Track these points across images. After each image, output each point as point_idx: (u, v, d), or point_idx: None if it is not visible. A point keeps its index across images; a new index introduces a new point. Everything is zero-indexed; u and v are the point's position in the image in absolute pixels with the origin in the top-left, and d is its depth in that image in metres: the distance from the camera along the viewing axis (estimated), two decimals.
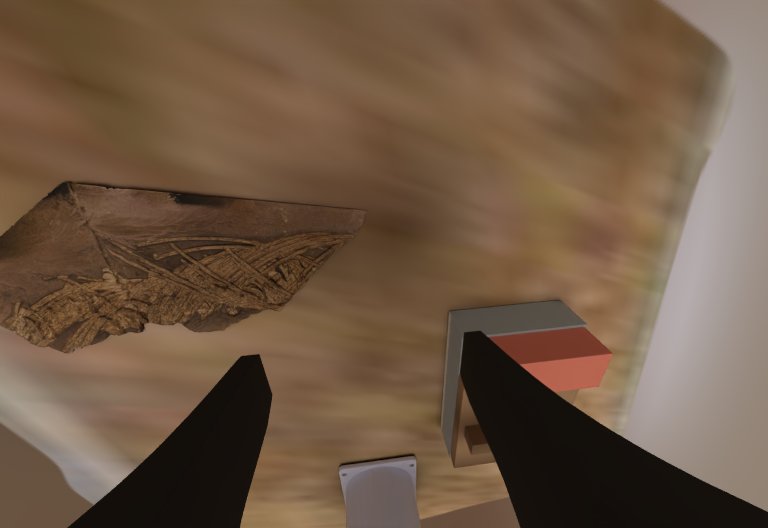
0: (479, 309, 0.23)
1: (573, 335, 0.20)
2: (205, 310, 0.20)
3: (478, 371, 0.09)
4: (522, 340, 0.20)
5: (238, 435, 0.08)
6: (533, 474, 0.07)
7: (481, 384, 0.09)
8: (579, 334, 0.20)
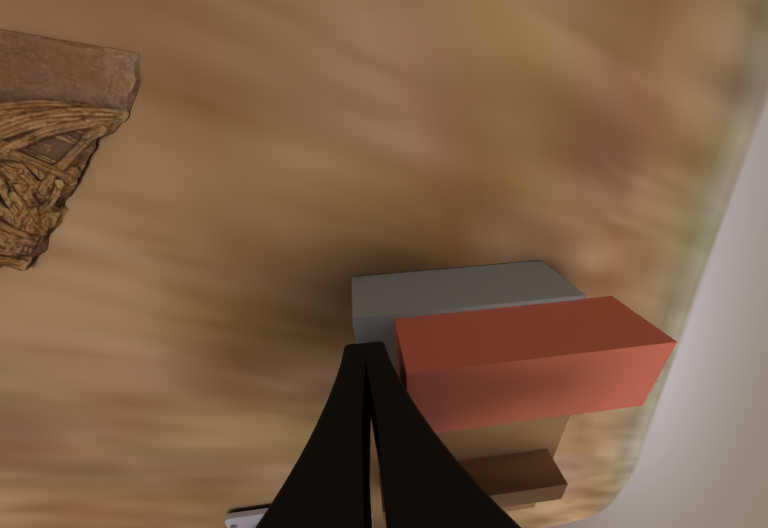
0: (403, 274, 0.13)
1: (594, 310, 0.11)
2: None
3: (368, 384, 0.09)
4: (500, 319, 0.11)
5: (366, 418, 0.08)
6: None
7: (369, 397, 0.09)
8: (605, 308, 0.11)
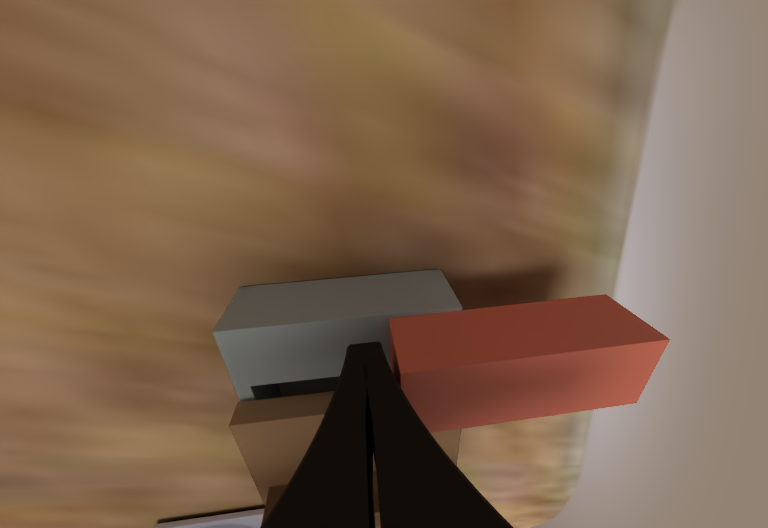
0: (293, 283, 0.13)
1: (588, 308, 0.11)
2: None
3: None
4: (494, 318, 0.11)
5: (369, 418, 0.08)
6: None
7: None
8: (599, 306, 0.11)
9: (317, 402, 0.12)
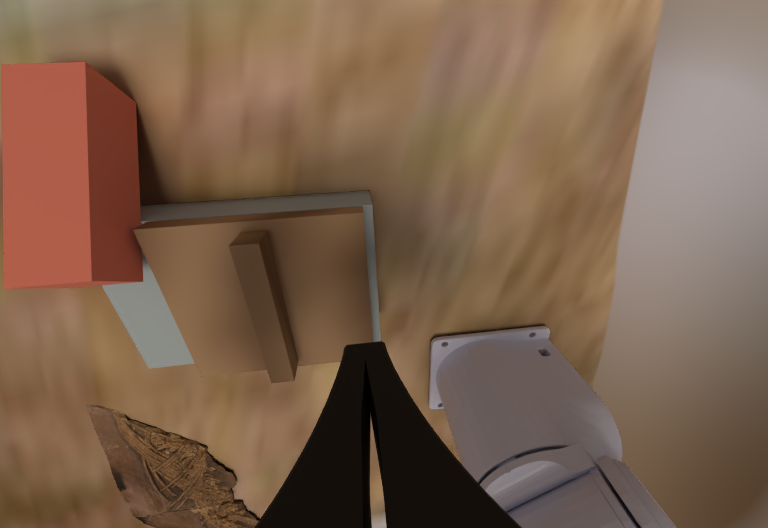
0: None
1: None
2: (212, 481, 0.28)
3: (368, 384, 0.09)
4: None
5: (366, 419, 0.08)
6: (384, 496, 0.07)
7: (370, 397, 0.09)
8: None
9: None
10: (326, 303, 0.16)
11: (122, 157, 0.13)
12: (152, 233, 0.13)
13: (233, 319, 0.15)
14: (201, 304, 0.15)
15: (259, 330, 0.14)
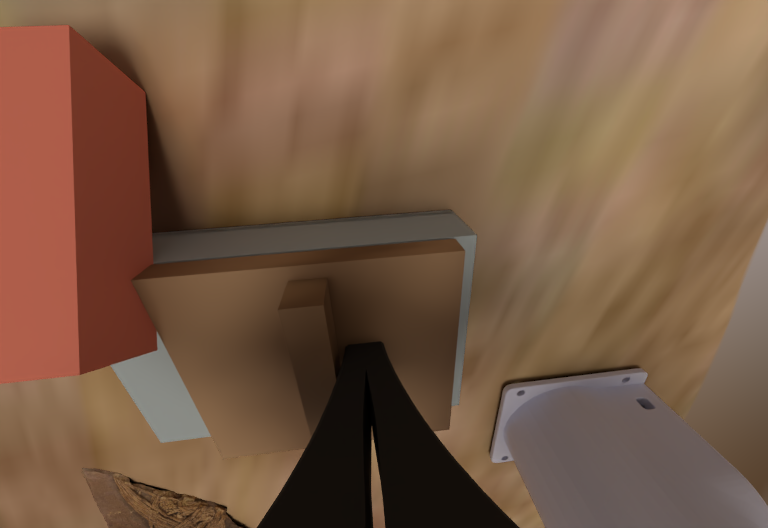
0: None
1: None
2: None
3: (367, 384, 0.09)
4: None
5: (367, 419, 0.08)
6: None
7: (369, 398, 0.09)
8: None
9: None
10: (396, 368, 0.11)
11: (127, 171, 0.09)
12: (160, 284, 0.09)
13: (270, 391, 0.11)
14: (226, 374, 0.11)
15: (311, 417, 0.10)
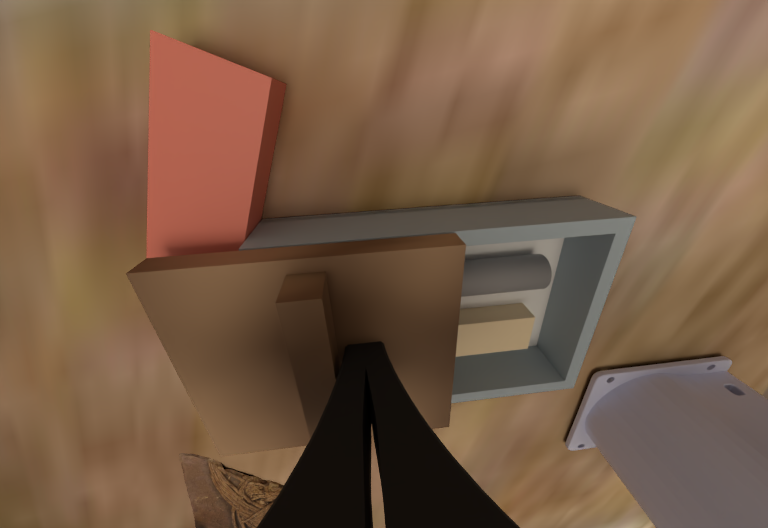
0: None
1: None
2: None
3: (367, 384, 0.09)
4: None
5: (367, 418, 0.08)
6: None
7: (369, 398, 0.09)
8: None
9: None
10: (396, 364, 0.11)
11: (266, 174, 0.11)
12: (155, 278, 0.09)
13: (267, 387, 0.11)
14: (223, 370, 0.10)
15: (309, 413, 0.10)
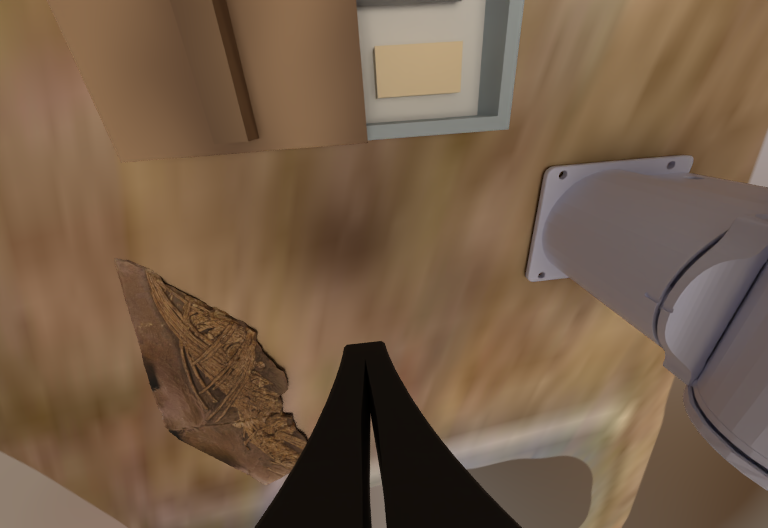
0: None
1: None
2: (260, 381, 0.23)
3: (368, 384, 0.09)
4: None
5: (366, 419, 0.08)
6: (384, 496, 0.07)
7: (370, 397, 0.09)
8: None
9: None
10: (292, 20, 0.10)
11: None
12: None
13: (154, 43, 0.10)
14: (99, 3, 0.10)
15: (181, 18, 0.09)
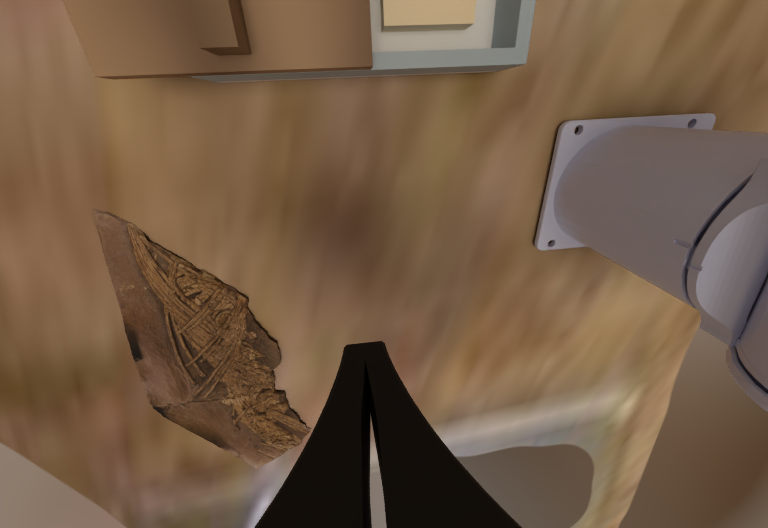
0: None
1: None
2: (251, 353, 0.22)
3: (368, 384, 0.09)
4: None
5: (366, 419, 0.08)
6: (384, 496, 0.07)
7: (370, 397, 0.09)
8: None
9: None
10: None
11: None
12: None
13: None
14: None
15: None
